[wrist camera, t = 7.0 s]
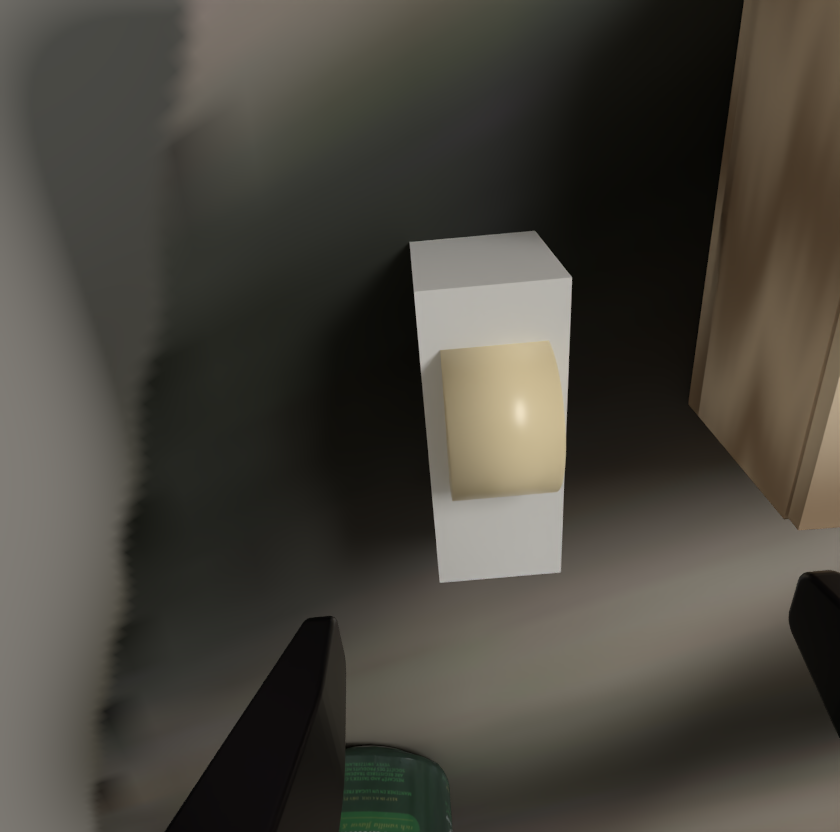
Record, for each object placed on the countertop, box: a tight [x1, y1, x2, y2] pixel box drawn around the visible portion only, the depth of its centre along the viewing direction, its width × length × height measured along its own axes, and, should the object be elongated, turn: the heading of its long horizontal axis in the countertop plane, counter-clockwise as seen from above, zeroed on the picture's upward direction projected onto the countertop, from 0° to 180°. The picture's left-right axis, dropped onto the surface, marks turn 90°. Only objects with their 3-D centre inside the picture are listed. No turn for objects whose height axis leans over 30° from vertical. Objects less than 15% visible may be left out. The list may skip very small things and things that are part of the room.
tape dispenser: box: [410, 231, 572, 583], centre depth 18 cm, size 9×4×6 cm, turn 5°
